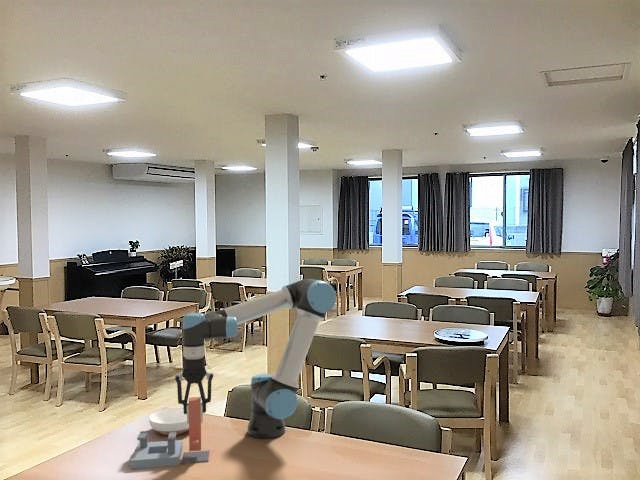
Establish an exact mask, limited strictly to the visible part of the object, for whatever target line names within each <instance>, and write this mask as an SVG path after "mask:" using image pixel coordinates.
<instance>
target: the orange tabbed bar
mask: <svg viewBox="0 0 640 480" xmlns="http://www.w3.org/2000/svg"><path fill="white" fill-rule="evenodd" d="M188 403H189V430H188V441H189V442H188V443H189V444H188V447H189V448H188V452H197V451H202V423H201V417H200V404H201V403H202V399H201V396H193V397H191V396H190V397H189V396H188Z"/></svg>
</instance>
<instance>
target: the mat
mask: <svg viewBox="0 0 640 480" xmlns="http://www.w3.org/2000/svg"><path fill="white" fill-rule="evenodd" d="M209 458H210V450H201V451H187V452H186V451H185V452H183V456H182V460H181V464H183V465H184V464H194V463H206V462H209Z"/></svg>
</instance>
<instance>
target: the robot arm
mask: <svg viewBox="0 0 640 480" xmlns="http://www.w3.org/2000/svg"><path fill="white" fill-rule="evenodd" d="M336 301H337V294H336V291H335V289H334V287H333V286H332V285H331V284H329V283H328V282H326V281H323V280H321V279H319V280H318V279H314V278H303V279H300V280H298V281H296V282H292V283H290V284H287V285H284V286H282V287H281V289H280V290H276V291H274V292H270V293H267V294H265V295H262V296H259V297H256V298H252V299H250V300H247V301H244V302H241V303H238V304H235V305H231V306H227V307H226V308H223V309H219V310H215V311H207V312H205V313H201V312H191V313H190V312H189V313H186V314H184V315H183V317H182V320H183V321H182V342H183V343H182V344H183V345H182V347H183V348H182V355H183V357H184V358H182V359H183V364H182V365H183V371H182V372H181V373H180V374H175V378H174V379H175V381H176V386H177V387H176V388H177V403H178V405H183V408H184V414H187V424H189V395H190V389H191V387H192V384H197V386H198V391H199V394H200V395H199V396H200V397H201V404H200V417H201V424H203V422H204V414H205V413H206V411H207V404H208V403H211V401H212V381H213V379H214V373H213V372H210V373H209V372H207V370H206V359H205V358H206V357H205V356H206V349H205V348H206V347H205V346H206V345H205V342H206V340H217V339H229V338H235V337H236V336H237V335H238V332H239V325H240V324H243V323H246V322H248V321H251V320H255V319H258V318H260V317H264V316H266V315H271V314H273V313H275V312H278V311H281V310H285V309H289V310H292V309H295V310H296V311H297V317H296V319H295V322H294V325H293V327H292V330H291V332H290V336H289V338H288V341H287V343H286V345H285V349H284V351H283V353H282V356H281V358H280V361H279V364H278V366H277V369H276V372H274V373H261V374H256V375H253V376H252V377H251V381H250V389H251V390H250V392H251V393H250V394H251V396H250V397H251V400H250V401H251V415H250V418H249V421H248V425H247V434H248V436H250V437H253V438H257V439H271V438H277V437H280V436H283V434H285V433H286V424H285V421H284V419H286V418H288V417H290V416H292V415H293V414H294V413H295V411H296V410H297V406H298V398H297V393H298V390H299V387H300V385H299V383H298V380H299V376H300V373H301V371H302V368H303V365H304V362H305V361H306V358H307V355H308V352H309V349H310V347H311V344H312V342H313V340H314V336H315V334H316V330H317V328H318V325H319V323H320V322H322V321H323V320H325V317H326V315H327V313H328V312H330V310H332V309H333V308H334V307H335V304H336ZM205 377H206V380H207V396H206V394H205V391H204V385H203V380H204V379H205ZM183 378H184V380H185V381H186V383H187V384H186V389H185V394H184V399H183V392H182V391H183V389H182V387H183V386H182V380H183ZM206 397H207V398H206Z"/></svg>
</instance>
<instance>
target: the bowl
mask: <svg viewBox="0 0 640 480" xmlns="http://www.w3.org/2000/svg"><path fill="white" fill-rule="evenodd" d="M148 421H149V426H150V427H151V428H152V430H154V431H156V433H160V434H161V435H164V436H169V433H173V432H176V436H177V435H182V434H184V433H186V432H188V431H189V424H187V414H184V407H174V408H167V409H166V408H165V409H161V410H158V411H155V412H154V413H152V414H150V416H148Z"/></svg>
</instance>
